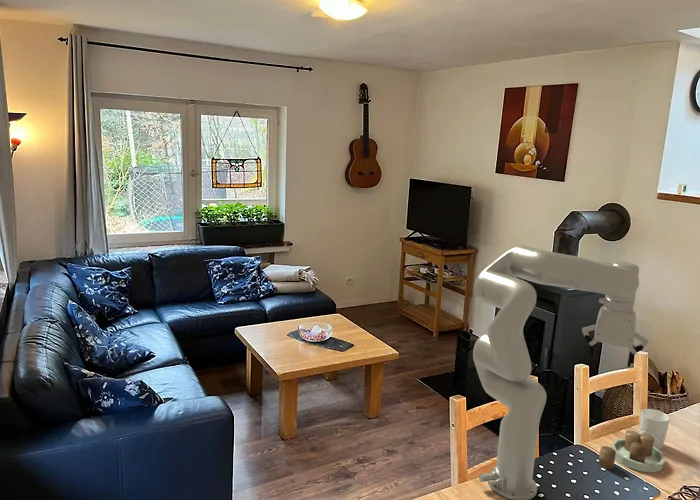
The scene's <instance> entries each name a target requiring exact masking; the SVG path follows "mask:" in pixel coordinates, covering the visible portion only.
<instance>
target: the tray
mask: <svg viewBox="0 0 700 500" xmlns="http://www.w3.org/2000/svg"><path fill="white" fill-rule="evenodd" d="M633 442H638V443H641V444H644V445H645V446H646V447H647V450H646V456H645V462H644V463H641V462H636V461H634V460H632V459H629V456H630V450H631V443H633ZM653 444H654V438H653V437H651V436H649V435H646V434H639V432H637V431H634V430H626V431H625V436H624V438H617V439H614V441H612V442H611V444H610V447H611V448H613V449H614V450H615V451H616V454H615V461H617V462H618V463H620V464H621V465H622V466H625V467H626V468H628V469H631V470H633V471H636V472H642V473H647V474H648V473H659V472H661V471H662V470H663V469H664V466H665V464H666V457H665V455H664V453H663V452H662V451H661V450H660V449H656V448H655V447H654V446H653Z"/></svg>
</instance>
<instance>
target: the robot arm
mask: <svg viewBox="0 0 700 500" xmlns="http://www.w3.org/2000/svg"><path fill="white" fill-rule="evenodd" d="M639 273H640V267H639V266H638V265H637V264H636V263H632V262H628V261H613V262H604V261H603V262H602V261H594V260H591V259H587V258H584V257H580V256H576V255H572V254H571V255H570V254H564V253H559V252H553V251H548V250H544V249H540V248H535V247H531V246H527V245H517V246H514V247H512V248H511V249H509V250H507V251H506V252H505V253H502V254H501V256H500V257H498V258H497V259H496V260H494V261H493V262H492V263H491V264H489V265H488V266H487V267H486V268H484V270H482V271H481V272H480V273H479V274H478V276H477V277H476V279H475V281H474V285H473V291H474V295H475V296H476V298H477V299H479V300H480V301H482V302H483V303H485V304H487V305H490V306H492V307H495V308H497V309H499V311H498V312H497V314H496V315H495V317H493V319H492V321H490V324H489V325H488V328H487V333H484V334H483V335H480V336H479V337H478V338H477V340H476V341H475V343H474V345H473V351H472V358H473V362H474V366H475V368H476V371H477V376H478V377H479V381H480V382H481V385H482V388H483V389H484V391H485V393H486V394H488V396H489V397H492V398H493V399H495V400H496V401H498V402H499V403H501V404H502V405H504V406H505V407H507V408H508V413H506V414H505V415H504V417H502V419H501V421H500V426H499V435H498V436H499V437H498V443H497V444H498V446H497V453H496V463H495V466H493V467H492V468H491V469H492V470H491V471H489V472H488V473H479V475H478V480H479V482H480V483H484V482H487V484H488V486H489V487H490V488H491V489H492V491H494V492H495V493H496V494H498V495H500V496H501V497H503V498H505V499H509V500H532V499H533V498H535V496H537V493H538V485H537V483H536V481H535V480H534V479H533V477H534V475H533V474H534V469H535V468H534V467H535V459H536V452H537V443H538V442H537V441H538V434H539V433H538V432H539V427H540V422H541V417H542V415H543V412H544V409H545V405H546V402H547V392H546V390H545V388H544V387H543V385H541V384H540V383H539V382H538V381H537V380H536V379H534V378H532V377H530V375H531V373H532V362H531V361H532V360H531V358H530V354H529V350H528V346H527V343H526V340H525V335H524V327H525V325H526V321H527V320H528V319H529V317H530V316H531V313H532V312H533V310H534V308H535V306H536V304H537V296H538V295H537V291H536V289H535V288H534V286H533V285H532V284H531V283H529V282H532V283H535V284H539V285H542V286H543V285H544V286H552V287H559V288H566V289H571V290H572V289H573V290H576V291H583V292H589V293H590V292H591V293H597V294H602V295H605V296H604V297H601V298H600V297H599V298H598V303H600V304H602V305H603V306H601V307H600V308H599V311H598V314H597V318H596V324H592V325H589V326H585V327H582V328H581V333H582V335H583V337H584V339H585V340H586V341H587V343H588V345H589V351H588V355H589V356H590V359H591V360H593V359H595V356H596V355H595V354H596V347H597V343H601V344H607V345H611V346H612V345H613V346H617V347H622V348H628V350H629V353H628V360H627V367H629V368H631V364H634V363H635V355H636V354H637V353H640V352H641V351H642V350H643V349H644V348H645V347H646V346H647V345H648V344H649V340H648V338H646V337H644V336H643V335H641V334H640V333H639V332H637V331H636V325H637V320H636V319H637V314H636V311H634V307H635V301H636V300H635V299H636V293H637V290H638V288H639V286H640V285H639V284H640V279H639V278H640V277H639V276H640V275H639ZM525 280H526V281H525ZM527 281H528V282H527ZM592 331H594V337H592V336H591V335H590V334H589V332H592ZM635 339H636V340H638V341H639V342H640V343H639V344H638V345H635V344H634V343H635V342H634V341H635Z"/></svg>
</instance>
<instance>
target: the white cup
mask: <svg viewBox="0 0 700 500" xmlns="http://www.w3.org/2000/svg"><path fill="white" fill-rule="evenodd" d="M639 417H640V418H639V427H638V429H639V430H638V433H639V434H646V435H649V436H651V437H653V438H654V444H653V446H654V447H655V448H656V449H658V450H660V449H663V446H664V443H665V440H666V436H667V432H668V429H669V428H668V427H669V424H670V421H671V420H670V416H669V415H668V414H666V413H665V412H663V411H661V410H657V409H653V408H644V409H642V410H641V411H640V416H639Z"/></svg>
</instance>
